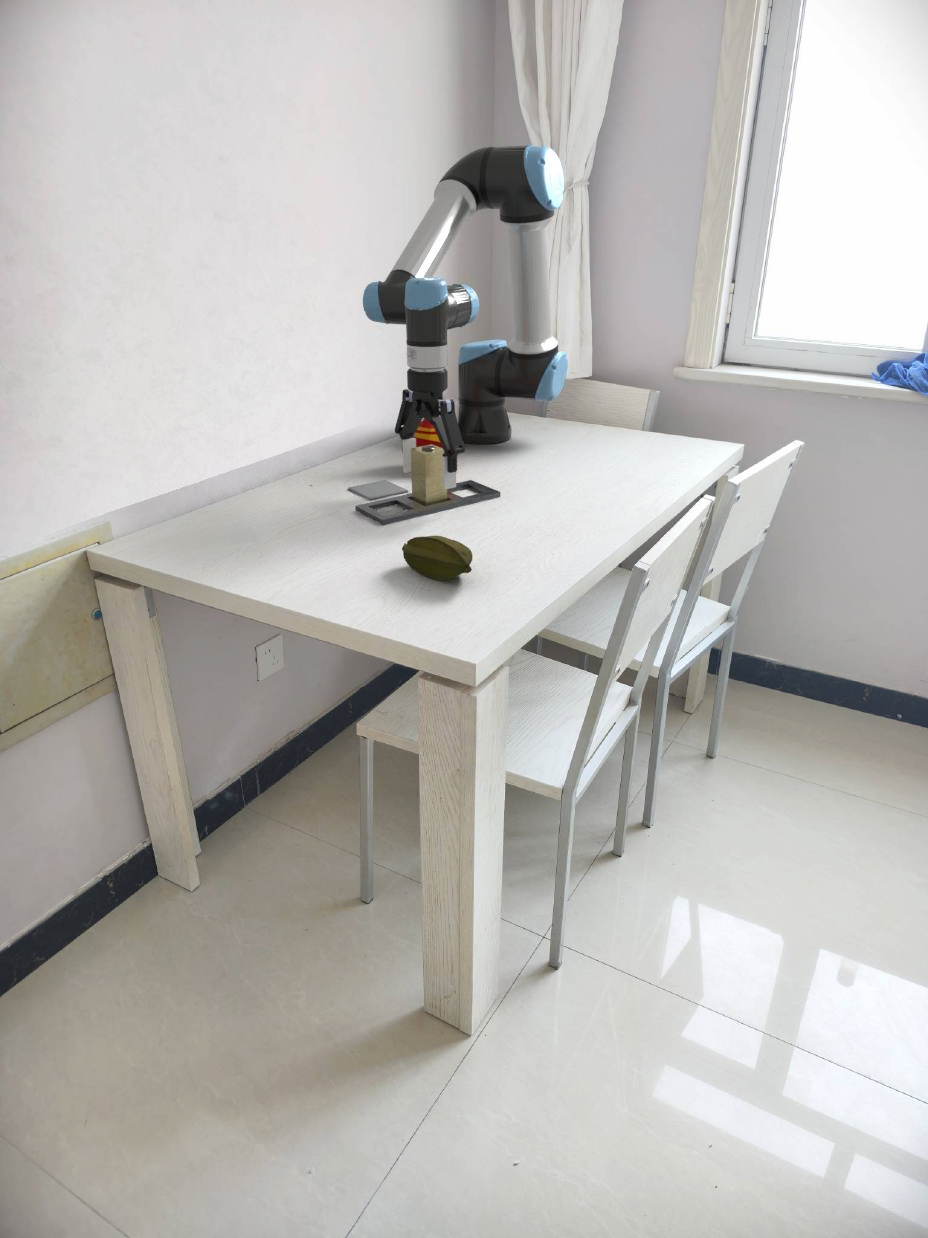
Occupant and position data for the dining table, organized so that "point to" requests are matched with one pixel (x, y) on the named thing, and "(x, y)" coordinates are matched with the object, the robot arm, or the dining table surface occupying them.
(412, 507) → the grey triple frame
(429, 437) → the potion bottle
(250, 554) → the dining table surface
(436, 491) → the brass block with knob
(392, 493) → the pad
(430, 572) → the fruit
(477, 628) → the dining table surface
